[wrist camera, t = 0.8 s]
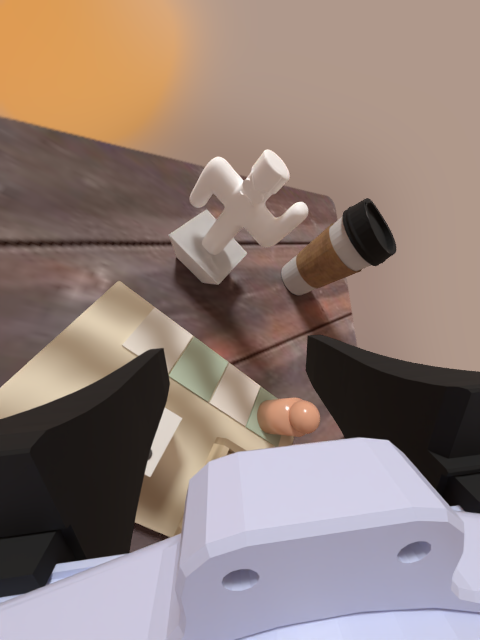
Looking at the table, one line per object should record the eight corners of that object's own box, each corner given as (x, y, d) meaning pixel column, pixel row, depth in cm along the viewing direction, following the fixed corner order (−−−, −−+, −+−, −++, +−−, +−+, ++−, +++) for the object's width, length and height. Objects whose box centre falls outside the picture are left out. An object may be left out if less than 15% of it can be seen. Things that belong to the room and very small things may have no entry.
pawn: (275, 439, 26) (325, 445, 21) (252, 424, 25) (298, 426, 20) (284, 409, 28) (331, 408, 23) (263, 394, 27) (307, 389, 22)
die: (137, 466, 18) (150, 477, 15) (91, 443, 17) (94, 449, 14) (166, 417, 20) (182, 418, 17) (127, 394, 19) (136, 390, 16)
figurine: (188, 221, 31) (257, 104, 19) (237, 273, 33) (326, 195, 21) (151, 246, 26) (210, 114, 15) (210, 304, 28) (303, 227, 17)
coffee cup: (281, 249, 41) (363, 183, 29) (313, 278, 43) (399, 228, 32) (270, 282, 36) (361, 219, 24) (306, 311, 39) (404, 268, 27)
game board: (253, 569, 21) (275, 588, 19) (-51, 439, 14) (-76, 444, 12) (293, 414, 30) (311, 415, 28) (117, 285, 23) (122, 270, 20)
